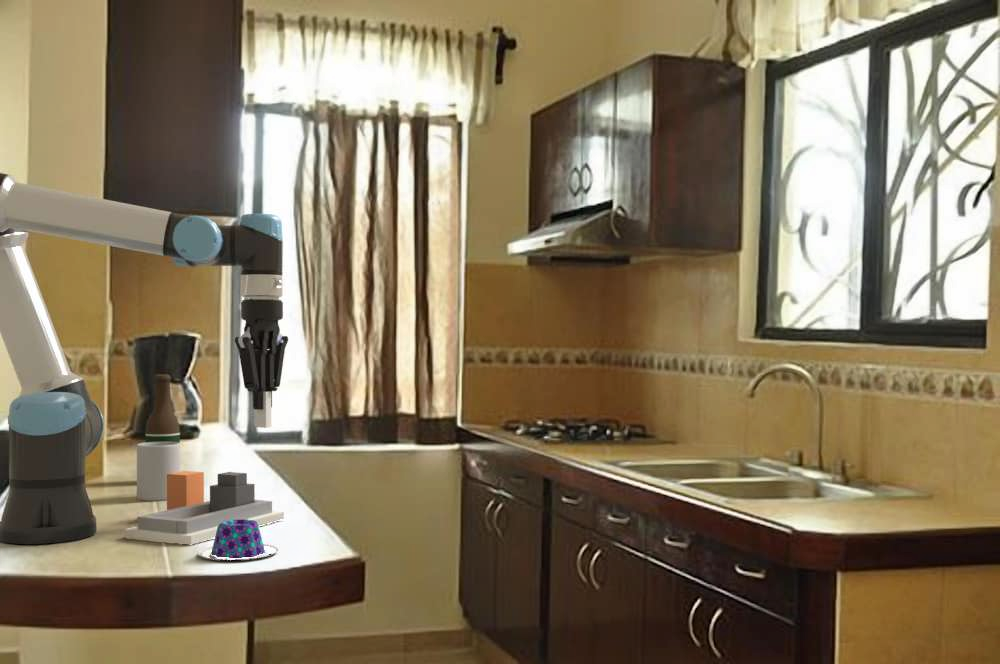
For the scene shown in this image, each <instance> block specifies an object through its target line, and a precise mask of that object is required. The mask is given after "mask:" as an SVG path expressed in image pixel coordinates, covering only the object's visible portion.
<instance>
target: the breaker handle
mask: <svg viewBox="0 0 1000 664" xmlns="http://www.w3.org/2000/svg"><path fill="white" fill-rule="evenodd" d="M247 478H248V473H247V472H235V471H226V472H221V473H217V484H212V485H209V501H210V513H212V512H216V511H220V510H225V509H229V508H233V507H237V506H242V505H246V504H250V503H255V500H256V499H255V483H248V481H247V480H248V479H247Z"/></svg>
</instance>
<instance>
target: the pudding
mask: <svg viewBox="0 0 1000 664" xmlns="http://www.w3.org/2000/svg"><path fill="white" fill-rule="evenodd" d="M264 546H270V547H273V548H275V549H276V552H275V553H273V554H271V555H267V556H265V555H263V557H262V556H258V557H257V558H258V559H261V558H266V557H269V556H272V555H275V554H276V553H278V552H279V548H278V547H277V546H275V545H270V544H265V543H263V539H262V535H261V531H260V527H259V526H258V524H257V522H256V521H254V520H248V519H241V520H239V519H236V520H228V521H224V522H222V523H220V524H219V526H218V528H217V532H216V536H215V539H214V541H213V545H212V546H210V547H207V548H206V547H205V548H203V549H201V550H199V551H198V552H197V555H198V556H199V557H200V558H204V559H207V560H212V561H220V560H223V559H215V558H213V559H210V558H206V557H203V556H202V554H203V552H205V551H207V550H210V549H212V552H211V554H212V555H216V556H217V557H229V558H242V557H254V556H257V555H259V554H263V553H265V554H266V552H265V550H264ZM257 558H249V559H235V560H241V561H249V560H250V559H251V560H257ZM226 560H227V559H226ZM226 562H232V561H231V560H230V561H228V560H227V561H226Z"/></svg>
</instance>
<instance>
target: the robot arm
mask: <svg viewBox="0 0 1000 664" xmlns="http://www.w3.org/2000/svg"><path fill="white" fill-rule="evenodd" d="M282 225H283V223H282V219H281V218H280V217H279V216H278V215H276V214H270V213H246V214H242V215H241V217H240V221H239V224H234V225H233V224H232V225H224V224H216V223H215V221H213V220H211V219H210V218H209V217H205V216H201V215H197V214H195V215H188V214H181V213H175V212H172V211H168V210H161V209H156V208H150V207H146V206H140V205H135V204H131V203H125V202H120V201H115V200H111V199H110V200H109V199H105V198H100V197H94V196H88V195H84V194H78V193H74V192H68V191H64V190H58V189H53V188H52V189H51V188H48V187H43V186H38V185H33V184H27V183H22V182H19V181H18V180H17V179H16V178H15V176H13V175H12V174H7V173H3V172H0V335H1V339H2V341H3V344H4V346H5V349H6V352H7V353H8V357H9V359H10V362H11V363H12V367H13V369H14V372H15V374H16V377H17V381H18V382H19V385H20V388H21V389H20V392H19V395H18V396H17V397H16V398H15V399H13V400H12V401H11V403H10V404H9V410H8V416H7V424H8V473H9V474H8V477H9V479H8V481H9V485H8V486H9V489H8V490H9V491H8V494H7V495H8V496H7V498H6V501H5V504H4V507H3V511H2V516H1V519H0V542H2V543H7V544H14V545H15V544H17V545H37V544H38V545H40V544H41V545H42V544H53V543H54V544H55V543H56V544H57V543H64V542H70V541H71V542H73V541H76V540H81V539H86V538H89V537H91V536H93V535H95V534H97V517H96V516H95V514H94V512H93V509H92V504H91V502H90V501H91V500H90V498H89V495H88V491H87V489H86V488H87V487H86V457H87V456H88V455H90V454H92V453H93V451H94V450H95V449H96V448H97V446H98V445H99V443H100V441H101V439H102V436H103V435H104V426H105V421H104V417H103V414H102V412H101V409H100V407H99V406H98V405H97V404H96V403H95V402H94V401H93V400H92V399H91V396H90V393H89V390H88V387H87V386H86V383H85V381H84V378H83V377H81V376H80V375H77V374H76V373H73V372H72V371H71V369H70V366H69V364H68V363H69V362H68V360H67V358H66V356H65V353H64V350H63V348H62V345H61V343H60V339H59V337H58V335H57V332H56V329H55V327H54V324H53V321H52V318H51V315H50V313H49V311H48V308H47V305H46V302H45V300H44V298H43V295H42V292H41V289H40V287H39V284H38V281H37V279H36V276H35V274H34V271H33V268H32V265H31V263H30V261H29V258H28V255H27V252H26V250H25V248H24V246H25V243H26V241H27V239H28V237H29V233H28V232H32V233H38V234H44V235H48V236H54V237H60V238H64V239H71V240H76V241H82V242H87V243H91V244H98V245H104V246H108V247H109V246H110V247H115V248H121V249H125V250H126V249H127V250H132V251H136V252H141V253H142V252H143V253H148V254H153V255H158V256H164V257H169V258H172V261H173V262H174V264H175V265H177V266H183V267H191V268H195V267H240V296H241V297H242V298H243V299H242V301H240V318H241V320H242V321H245V323H244V328H243V334H241V336H236V337H234V343H235V345H236V347H237V349H238V355H239V361H240V367H241V374H242V379H243V386H244V388H245V389H247V391H248V392H251V393H252V409H253V420H254V421H253V427H254V428H260V429H261V428H272V408H273V392H276V391H278V388H279V387H280V385H281V380H282V375H283V374H282V372H283V366H284V360H285V352H286V347H287V344H288V342H289V338H288V336H287V335H282V333H281V332H280V331H281V329H280V326H279V321H281V320H282V319H283V317H284V308H283V306H284V303H283V301H282V300H281V299H280V298H281V297H283V295H284V294H283V259H284V258H283V257H284V256H283V255H284V254H283V253H284V252H283V249H284V247H283V246H284V245H283V244H284V242H283V241H284V240H283V226H282Z"/></svg>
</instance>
